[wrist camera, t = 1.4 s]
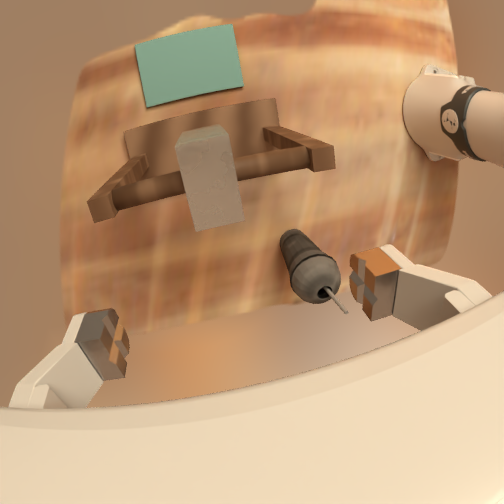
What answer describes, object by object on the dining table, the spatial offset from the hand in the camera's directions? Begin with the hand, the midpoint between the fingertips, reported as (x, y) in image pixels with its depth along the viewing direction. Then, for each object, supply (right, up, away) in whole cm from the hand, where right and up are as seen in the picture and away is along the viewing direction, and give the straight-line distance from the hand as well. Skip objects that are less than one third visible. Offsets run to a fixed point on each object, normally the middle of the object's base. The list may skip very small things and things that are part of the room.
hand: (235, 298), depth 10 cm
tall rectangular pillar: (-4, +12, +22) cm, 26 cm away
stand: (-6, +17, +33) cm, 38 cm away
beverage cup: (+7, +3, +43) cm, 44 cm away
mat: (-8, +28, +27) cm, 40 cm away
